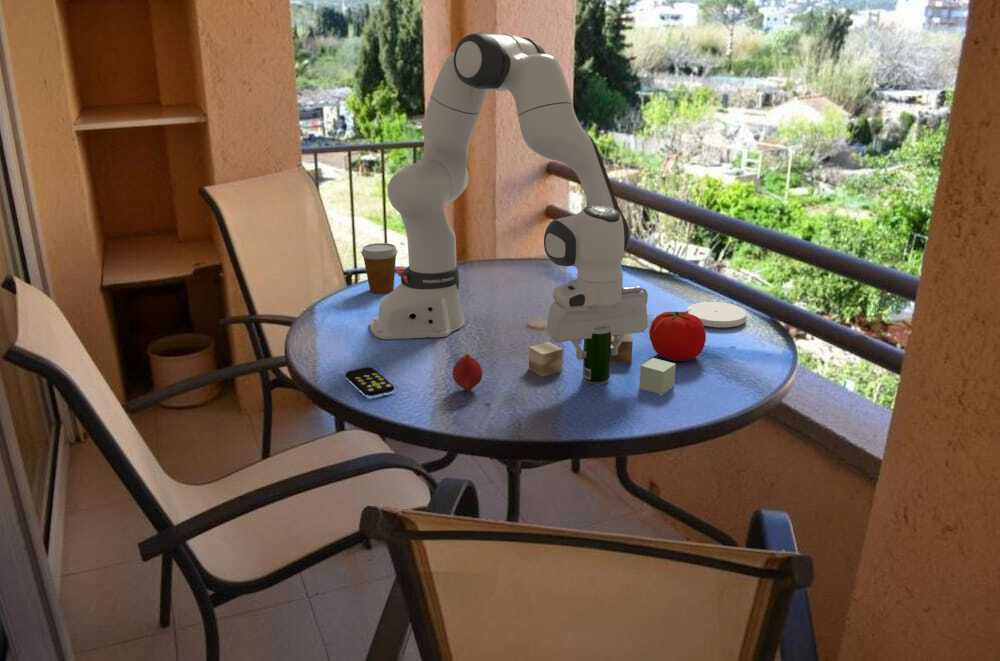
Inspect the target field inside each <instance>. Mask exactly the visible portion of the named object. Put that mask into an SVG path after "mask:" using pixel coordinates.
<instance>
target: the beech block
mask: <svg viewBox="0 0 1000 661" xmlns="http://www.w3.org/2000/svg"><path fill="white" fill-rule="evenodd" d="M563 349H564V348H561V347H559V346H557V345H556V344H554V343H551V342H550V341H546V342H542V343H540V344H539V343H538V344H534V345H531V346H529V347H528V369H529V370H531V371H532V370H533V371H532V372H534V371H535V372H534V373H536V374H537V373H538V374H537V375H539V374H540V375H539V376H540V377H542V376H543V377H546V376H545V375H547V376H550V375H549V374H551V375H554V374H558V373H562V372H563V359H564V358H563V357H564V356H563V355H564V354H563V352H564V350H563ZM557 372H558V373H557ZM553 373H554V374H553Z"/></svg>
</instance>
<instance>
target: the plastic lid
mask: <svg viewBox="0 0 1000 661" xmlns="http://www.w3.org/2000/svg"><path fill="white" fill-rule="evenodd" d="M691 309H692V310H691ZM689 310H690V311H689ZM686 311H688V313H689V314H691V315H694V316H696V317H698V318H699V319H700V320H701V321H702V322H703V326H704V327H709V328H710V327H712V328H733V327H738V326H741V325H743V324H745V322H746V321H747V316H748V314H747V311H746V310H745V309H744V308H742V307H740V306H738V305H735V304H730V303H727V302H726V303H725V302H718V301H706V302H705V301H703V302H696V303H693V304H691V305H688V306H687V307H686Z"/></svg>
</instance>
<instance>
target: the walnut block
mask: <svg viewBox="0 0 1000 661" xmlns="http://www.w3.org/2000/svg"><path fill="white" fill-rule="evenodd" d="M614 338H615V337H614V336H611V344H612V342H613V340H614ZM632 338H633V337H632V333H631V334H624V339H623V341H622V342H621V344H620V346H619V347H618V354H617V355H613V356H611V357H610V364H632V360H633V339H632Z"/></svg>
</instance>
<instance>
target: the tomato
mask: <svg viewBox="0 0 1000 661" xmlns="http://www.w3.org/2000/svg"><path fill="white" fill-rule="evenodd" d="M691 310H692V309H691ZM689 311H690V310H689ZM649 327H650V328H649V331H648V333H649V340H650V343H651V345H652V347H653V349H654V351H655V352H656V354H658V355H659V356H661V357H663V358H665V359H666V360H671V361H686V362H687V361H690V360H694V359H695V358H697V357H698V356H699V355H700V354H701V353H702V352H703V350H704V348H705V344H706V339H707V333H706V329H705V325H703V322H702V321H701V320H700V319H699V318H698V317H696V316H694V315H691V314H689V313H688V311H687V310H686V311H664V312H662V313H660V314H658V315H656V317H654V319H653V320H652V321H651V324H650V326H649Z"/></svg>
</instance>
